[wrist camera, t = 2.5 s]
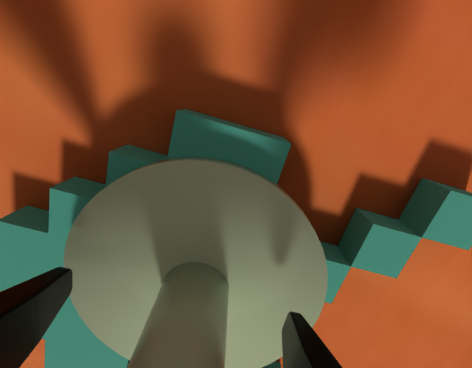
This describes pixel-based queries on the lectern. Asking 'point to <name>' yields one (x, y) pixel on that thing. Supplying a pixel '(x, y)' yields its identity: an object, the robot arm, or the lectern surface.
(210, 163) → the lid
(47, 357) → the alien figure
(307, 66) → the lectern surface
